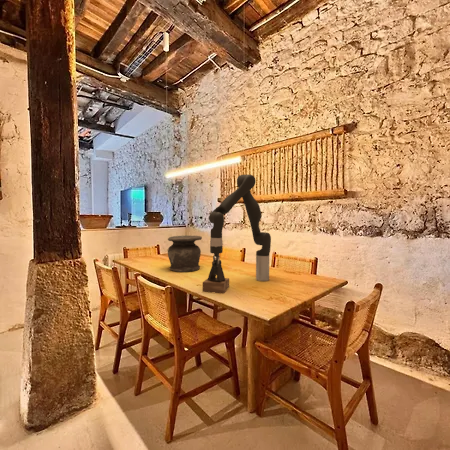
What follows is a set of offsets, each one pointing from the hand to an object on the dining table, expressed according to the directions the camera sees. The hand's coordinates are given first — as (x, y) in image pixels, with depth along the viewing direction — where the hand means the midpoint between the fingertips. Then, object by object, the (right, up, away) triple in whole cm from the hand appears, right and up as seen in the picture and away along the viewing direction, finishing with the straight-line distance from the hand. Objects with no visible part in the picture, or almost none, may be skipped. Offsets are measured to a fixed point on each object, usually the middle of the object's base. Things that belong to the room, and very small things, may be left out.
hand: (216, 271), depth 161 cm
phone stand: (0, -5, 0) cm, 5 cm away
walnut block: (0, -11, 0) cm, 11 cm away
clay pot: (-28, -8, +58) cm, 65 cm away
